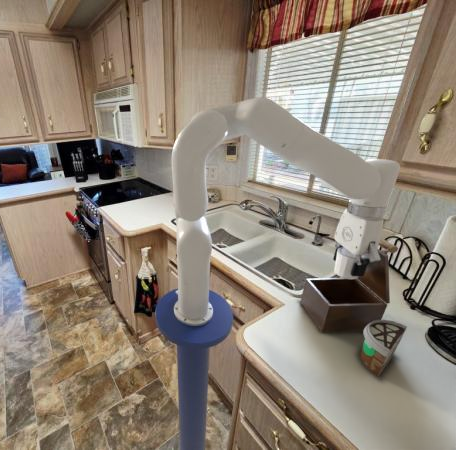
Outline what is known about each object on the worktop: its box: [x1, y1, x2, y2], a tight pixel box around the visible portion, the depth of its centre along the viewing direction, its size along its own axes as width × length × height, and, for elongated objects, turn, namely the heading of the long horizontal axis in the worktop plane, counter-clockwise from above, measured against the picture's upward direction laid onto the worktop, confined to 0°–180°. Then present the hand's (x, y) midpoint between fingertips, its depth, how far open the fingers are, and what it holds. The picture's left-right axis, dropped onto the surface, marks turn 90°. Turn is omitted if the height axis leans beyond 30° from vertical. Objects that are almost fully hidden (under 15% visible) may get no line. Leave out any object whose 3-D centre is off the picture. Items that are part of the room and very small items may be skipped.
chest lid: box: [357, 237, 399, 305], centre depth 70 cm, size 16×13×6 cm
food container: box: [360, 319, 408, 377], centre depth 63 cm, size 12×6×10 cm, turn 123°
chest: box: [299, 277, 388, 333], centre depth 76 cm, size 16×13×10 cm
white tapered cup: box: [333, 247, 365, 279], centre depth 70 cm, size 7×7×7 cm
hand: (347, 267), depth 71 cm, fingers closed on white tapered cup, 6 cm apart
